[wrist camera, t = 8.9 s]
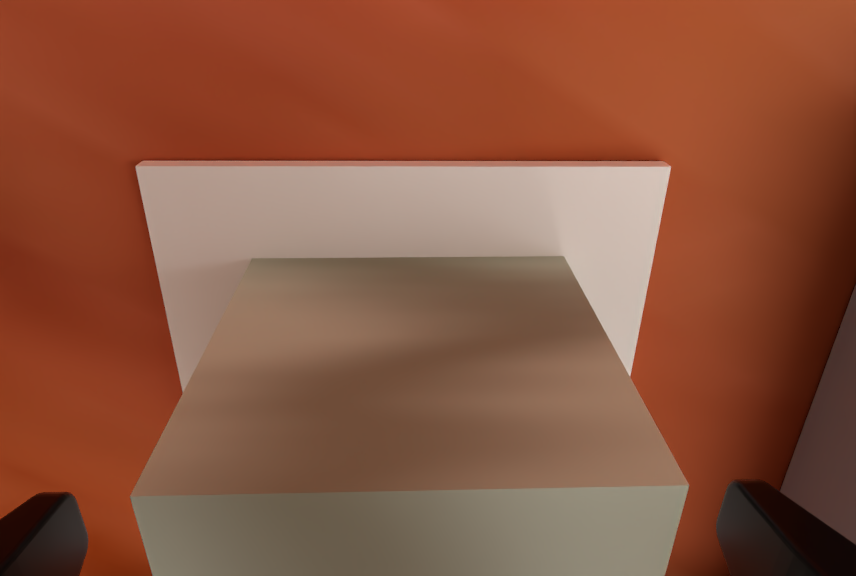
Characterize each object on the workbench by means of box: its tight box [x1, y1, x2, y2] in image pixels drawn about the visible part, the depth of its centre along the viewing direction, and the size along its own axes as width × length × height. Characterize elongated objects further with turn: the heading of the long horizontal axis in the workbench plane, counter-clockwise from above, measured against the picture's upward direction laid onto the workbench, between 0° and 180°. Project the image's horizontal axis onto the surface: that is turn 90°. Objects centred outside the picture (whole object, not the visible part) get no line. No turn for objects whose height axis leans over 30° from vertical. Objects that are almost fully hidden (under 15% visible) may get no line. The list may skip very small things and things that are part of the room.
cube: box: [130, 256, 689, 576], centre depth 9 cm, size 5×5×5 cm
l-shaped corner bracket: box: [135, 161, 856, 544], centre depth 11 cm, size 17×13×3 cm
